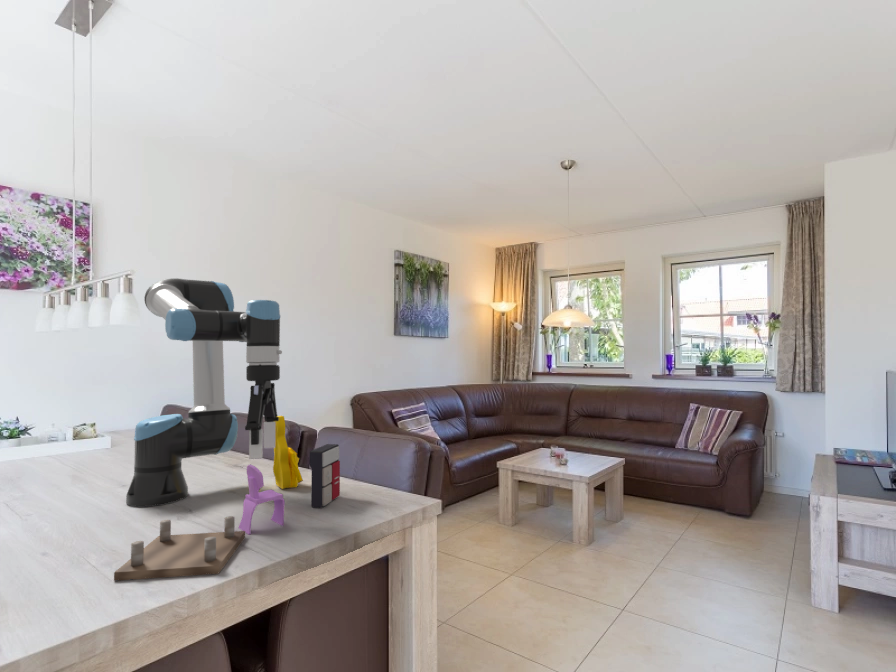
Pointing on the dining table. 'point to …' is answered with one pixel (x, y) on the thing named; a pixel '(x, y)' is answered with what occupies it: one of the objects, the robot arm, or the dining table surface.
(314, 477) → the grey and red block
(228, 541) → the peg stand
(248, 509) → the toy chair
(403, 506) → the dining table surface
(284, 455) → the figure statuette
